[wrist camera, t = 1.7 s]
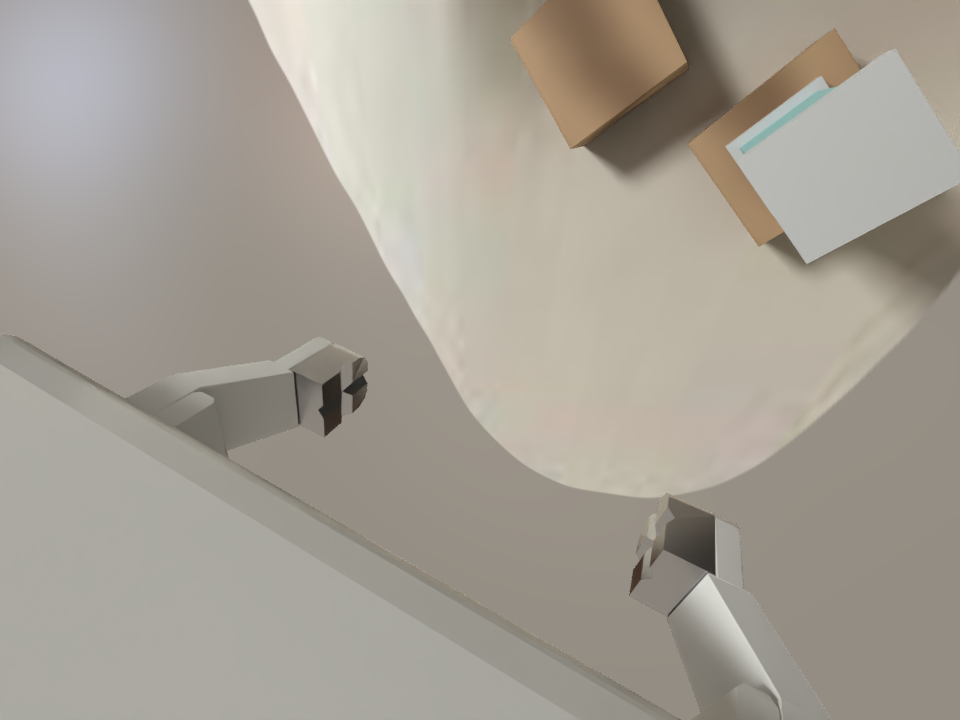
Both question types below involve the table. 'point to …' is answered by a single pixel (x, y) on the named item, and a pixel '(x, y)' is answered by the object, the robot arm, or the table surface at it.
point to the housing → (848, 156)
